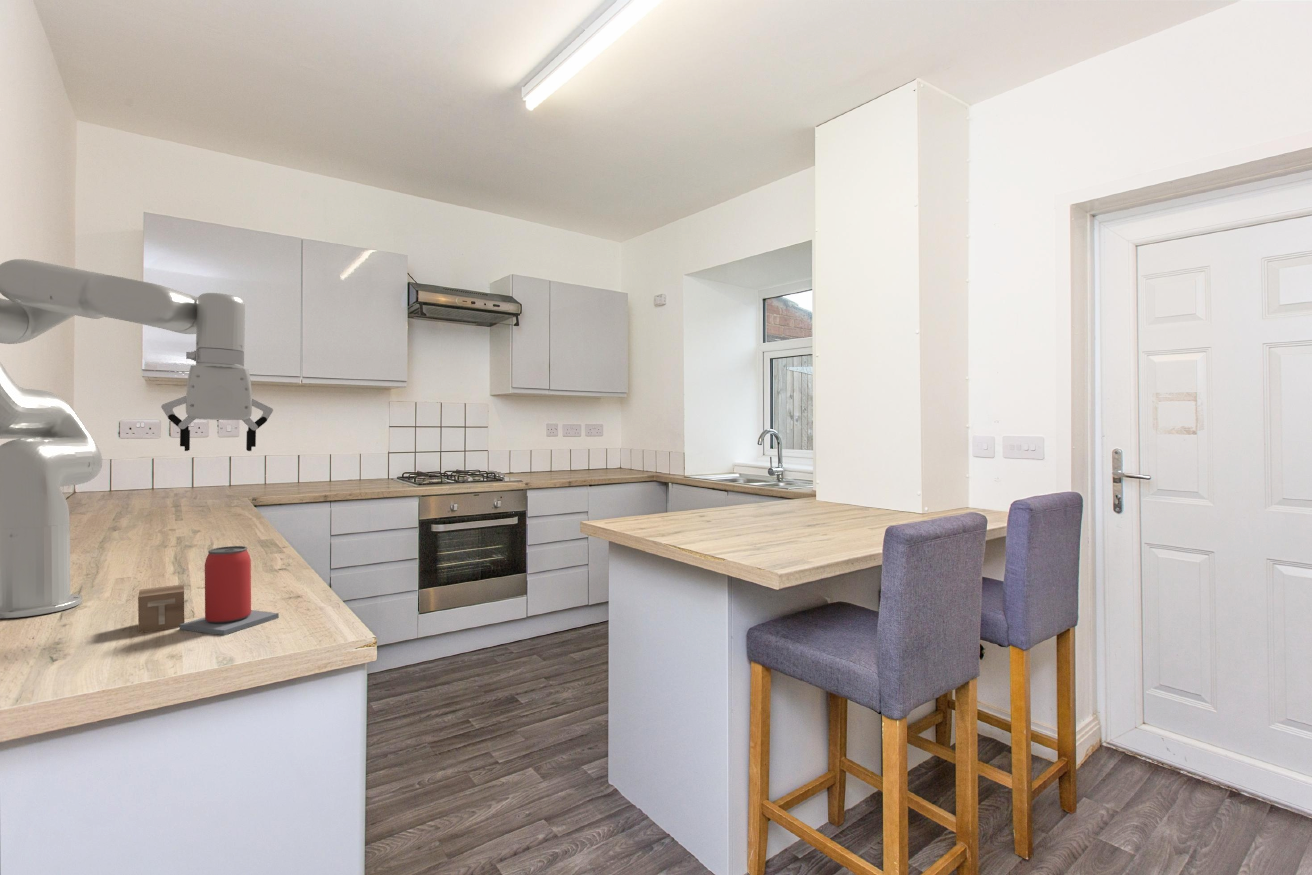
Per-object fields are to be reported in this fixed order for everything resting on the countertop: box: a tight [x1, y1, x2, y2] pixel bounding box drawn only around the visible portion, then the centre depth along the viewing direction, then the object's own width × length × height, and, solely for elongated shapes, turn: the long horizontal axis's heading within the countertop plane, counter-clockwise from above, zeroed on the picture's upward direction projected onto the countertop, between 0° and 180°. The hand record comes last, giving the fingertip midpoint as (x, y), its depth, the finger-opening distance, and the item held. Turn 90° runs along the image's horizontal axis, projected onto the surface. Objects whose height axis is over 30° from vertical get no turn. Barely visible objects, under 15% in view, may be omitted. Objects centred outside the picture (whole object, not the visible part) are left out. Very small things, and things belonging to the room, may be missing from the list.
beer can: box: [204, 545, 252, 623], centre depth 107 cm, size 7×7×12 cm
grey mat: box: [179, 609, 279, 636], centre depth 108 cm, size 10×10×1 cm
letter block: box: [137, 583, 185, 634], centre depth 107 cm, size 6×6×6 cm
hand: (218, 450), depth 119 cm, fingers open, 9 cm apart
